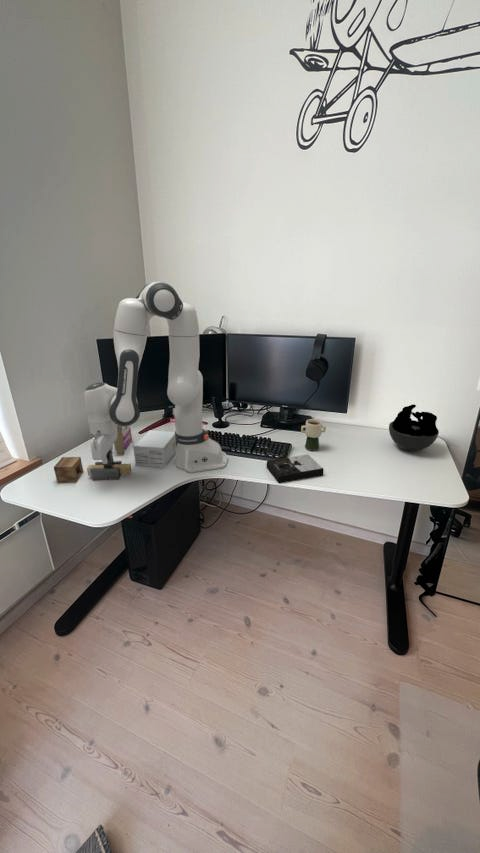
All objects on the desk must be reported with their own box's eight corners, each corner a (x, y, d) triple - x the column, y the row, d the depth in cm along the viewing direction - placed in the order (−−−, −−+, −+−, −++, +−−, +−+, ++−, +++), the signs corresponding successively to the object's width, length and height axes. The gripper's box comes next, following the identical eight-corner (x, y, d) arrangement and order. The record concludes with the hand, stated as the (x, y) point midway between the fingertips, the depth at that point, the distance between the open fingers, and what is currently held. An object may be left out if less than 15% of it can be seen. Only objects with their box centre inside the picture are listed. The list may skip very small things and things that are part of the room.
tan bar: (131, 470, 140) (128, 449, 137) (130, 474, 138) (126, 453, 134) (90, 472, 140) (86, 451, 136) (88, 475, 137) (83, 454, 133)
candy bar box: (122, 440, 170) (117, 408, 164) (132, 440, 170) (128, 408, 164) (114, 450, 160) (108, 417, 153) (125, 450, 160) (120, 417, 153)
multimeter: (265, 468, 145) (266, 457, 143) (308, 461, 150) (308, 450, 148) (278, 484, 133) (278, 473, 131) (323, 476, 138) (324, 465, 137)
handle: (125, 456, 154) (121, 425, 148) (111, 456, 155) (106, 425, 149) (129, 451, 159) (125, 421, 153) (115, 451, 159) (110, 420, 153)
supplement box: (165, 468, 145) (163, 447, 141) (135, 466, 147) (132, 445, 143) (178, 450, 160) (176, 431, 157) (150, 448, 162) (148, 429, 159)
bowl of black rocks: (428, 463, 147) (438, 421, 139) (380, 450, 158) (386, 411, 151) (438, 446, 161) (447, 407, 154) (392, 435, 173) (399, 399, 165)
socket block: (83, 472, 142) (80, 456, 140) (76, 482, 135) (72, 466, 132) (65, 472, 142) (62, 457, 139) (57, 483, 135) (53, 467, 132)
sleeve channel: (123, 472, 142) (121, 461, 140) (119, 479, 137) (117, 468, 135) (97, 472, 142) (95, 461, 140) (92, 480, 136) (90, 469, 134)
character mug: (322, 444, 164) (324, 418, 159) (325, 451, 157) (328, 424, 152) (298, 445, 164) (300, 419, 159) (301, 452, 157) (302, 425, 152)
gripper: (102, 437, 121) (108, 472, 127) (118, 416, 140) (122, 447, 146) (83, 438, 121) (90, 473, 127) (102, 416, 140) (107, 447, 145)
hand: (108, 459), depth 136 cm, fingers open, 5 cm apart
